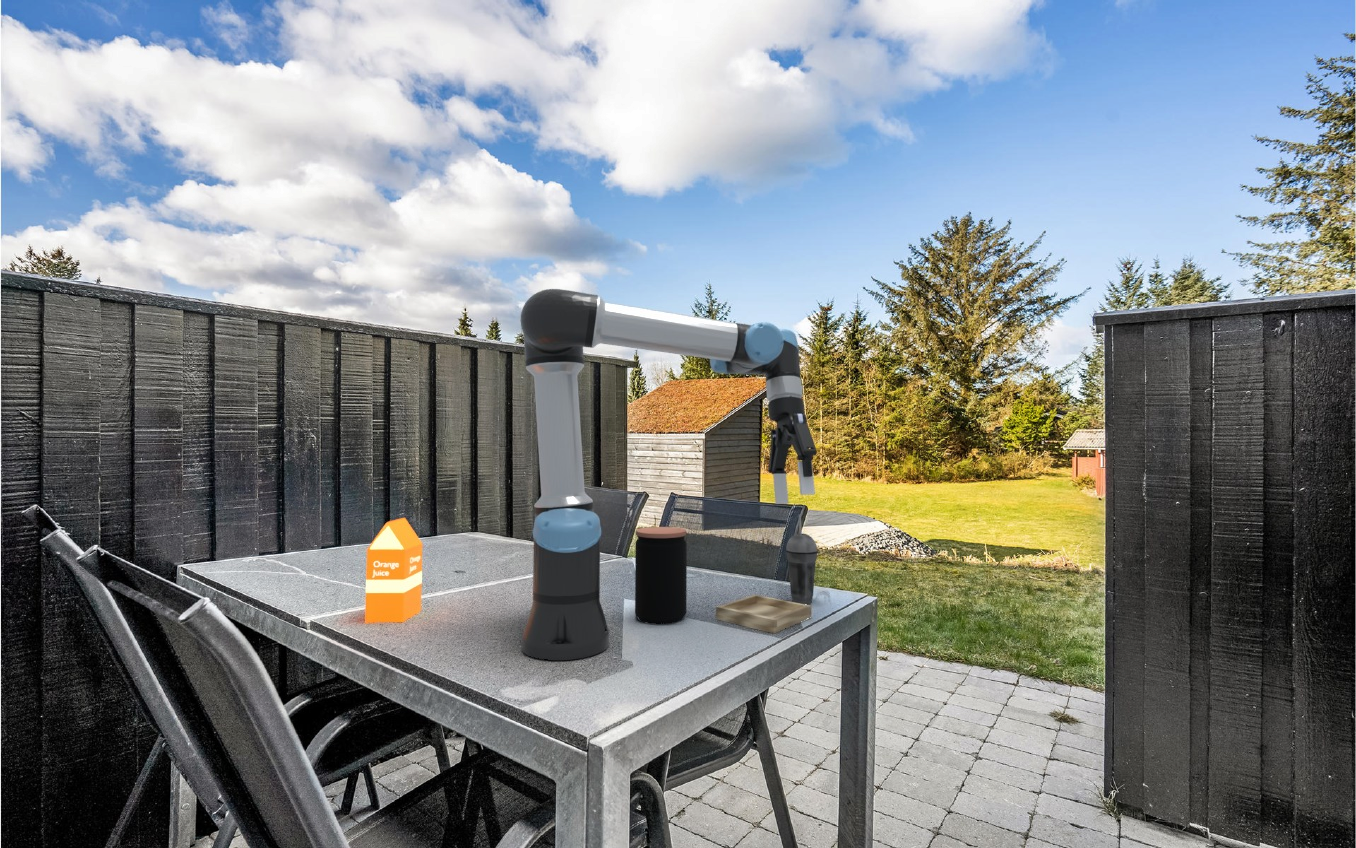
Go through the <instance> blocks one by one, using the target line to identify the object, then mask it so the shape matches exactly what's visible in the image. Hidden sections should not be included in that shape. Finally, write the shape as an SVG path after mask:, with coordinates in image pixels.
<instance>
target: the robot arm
mask: <svg viewBox="0 0 1356 848" xmlns="http://www.w3.org/2000/svg"><path fill="white" fill-rule="evenodd" d="M520 328H521V331H522V333H523V343H524V361H525V370H526V371H527V372H528V373H530V374H531V375H532V377H533V381H534V396H535V398H534V399H535V412H536V414H535V415H536V430H537V446H538V461H539V477H540V478H539V479H540V494H541V495H540V497H539V499H537V501H536V502H535V504H533V505H534V509H533V510H534V523H533V528H532V537H533V556H532V558H533V559H532V561H533V563H532V567H533V568H532V569H533V570H532V605H531V607H530V611H529V614H528V616H527V620H526V624H525V627H524V631H523V632H522V636H521V651H522V653H523V654H524V655H526V654H527V655H526V656H528V655H529V656H528V657H530V656H531V658H534V657H535V659H538V658H539V660H544V659H548V660H547V661H569V660H577V659H583V658H585V659H586V658H588V657H592V656H596V655H598V654H600V653H602V652H604V651H605V650H607V649H608V648H609V646H610V630H609V627H608V623H607V621H606V617H605V613H604V610H603V607H602V604H601V597H600V596H601V593H600V592H601V581H600V580H601V536H602V526H601V520H600V517H599V515H598V514H597V513H595V512H594V501H593V500H594V499H592V497H590V496H589V495H588V494H587V493H586V492H585V478H584V477H585V476H584V475H585V474H584V461H583V445H582V444H583V443H582V431H581V430H582V429H581V427H582V426H581V414H580V413H581V412H580V399H579V383H578V375H579V373H580V372H581V371H583V369H584V368H585V361H584V347H585V348H590V349H594V348H596V347H597V346H598V345H599V344H600V345H601V344H603V345H607V346H608V345H609V346H615V347H616V346H617V347H622V348H623V347H625V348H631V349H637V350H638V349H639V350H644V351H645V350H646V351H654V352H659V353H660V352H661V353H665V354H666V353H668V354H675V355H681V356H686V357H689V356H690V357H695V358H703V359H709V364H710V369H711V370H712V372H714V373H716V374H725V375H759V376H761V375H762V376H763V375H764V376H765V386H766V387H765V389H766V390H765V391H766V399H767V401H768V403H767V408H768V410H767V411H768V418H769V420H770V421H772V422H775V423H776V429H774V428H773V429H770V447H769V448H770V450H769V460H768V471H767V472H768V474H772V477H773V489H774V503H775V505H788V504H789V494H788V481H787V474H788V472H787V471H786V470H785V468H786V463H787V459H788V454H789V449H790V448H791V447H792V448H793V451H795V453H796V461H797V470H798V482H799V483H798V485H799V491H800V492H799V494H800V496H803V495H805V496H806V495H808V496H809V495H810V496H811V495H812V496H813V495H815V494H816V490H815V481H814V479H815V477H814V471H813V460H814V456H817V453H818V452H817V451H818V450H817V447H816V445H815V442H814V439H813V437H812V433H811V430H810V429H809V425H808V422H807V415H806V413H805V405H804V400H803V399H802V398H803V395H804V394H803V390H804V386H803V385H802V376H801V366H800V348H799V345H798V340H797V339H798V338H797V336H796V333H795V332H794V331H792V330H791V329H786V328H778V326H776V325H775V324H774V323H771V322H767V321H762V322H761V321H760V322H756V323H753V324H746V323H739V322H737V323H736V322H733V321H731V322H730V321H726V320H725V321H724V320H719V319H713V318H706V317H700V316H695V315H694V316H693V315H687V314H682V313H681V314H680V313H674V312H669V311H662V310H656V309H649V308H643V307H637V306H631V305H625V304H617V303H613V302H606V301H605V300H604V299H603V298H602V297H601V296H600V295H598V294H591V293H586V292H579V291H574V290H567V289H560V288H548V289H543V290H539V291H538V292H536V293H534V294H532V295H531V296H530V297H529V298H528V299H527V300H526V302H525V303H524V305H523V307H522V309H521V313H520Z"/></svg>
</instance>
